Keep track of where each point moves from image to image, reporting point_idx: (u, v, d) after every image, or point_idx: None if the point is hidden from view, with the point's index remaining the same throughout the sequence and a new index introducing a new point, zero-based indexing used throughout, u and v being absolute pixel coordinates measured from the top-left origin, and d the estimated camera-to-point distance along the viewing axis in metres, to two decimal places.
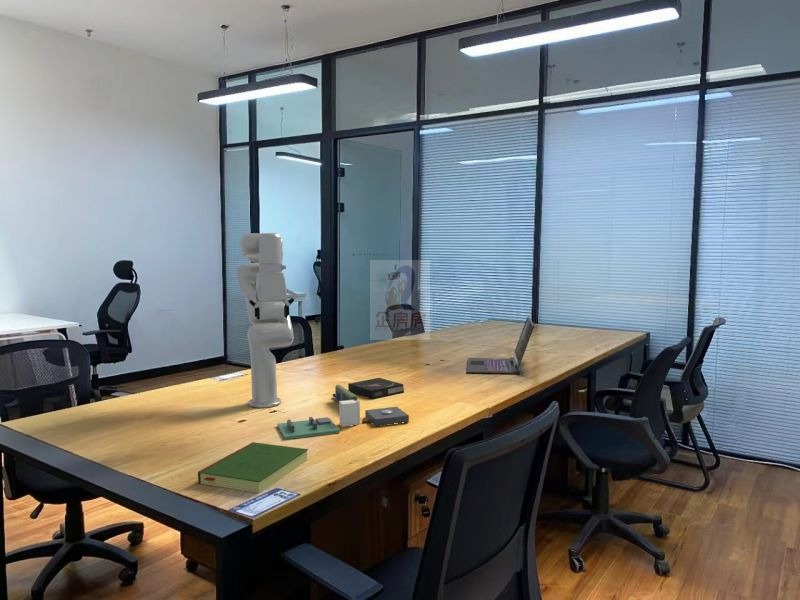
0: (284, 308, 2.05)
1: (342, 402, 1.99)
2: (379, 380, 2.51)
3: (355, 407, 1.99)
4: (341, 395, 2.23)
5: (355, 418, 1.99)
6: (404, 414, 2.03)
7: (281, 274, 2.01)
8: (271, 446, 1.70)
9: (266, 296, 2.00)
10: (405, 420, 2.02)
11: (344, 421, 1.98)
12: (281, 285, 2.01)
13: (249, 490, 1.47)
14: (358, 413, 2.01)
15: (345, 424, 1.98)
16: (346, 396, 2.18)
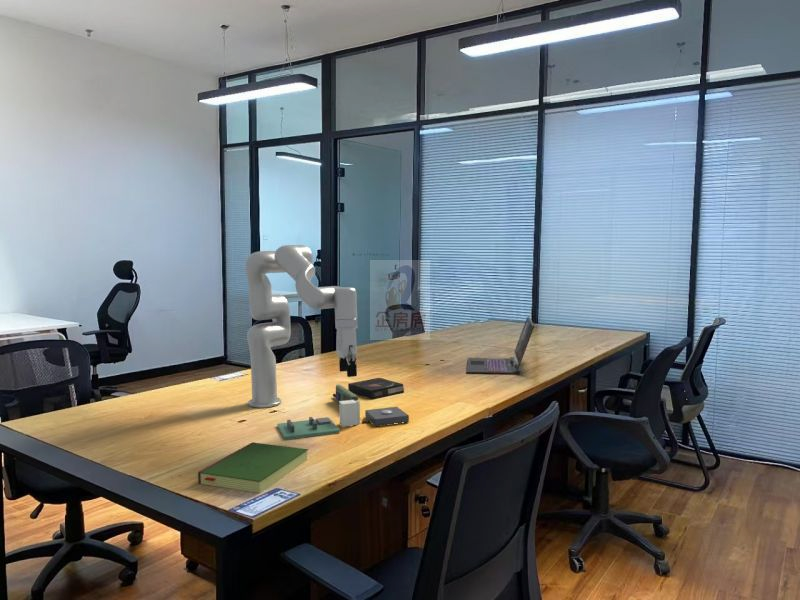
0: (342, 362, 2.02)
1: (342, 402, 1.99)
2: (379, 380, 2.51)
3: (355, 407, 1.99)
4: (342, 395, 2.23)
5: (355, 418, 1.99)
6: (404, 414, 2.03)
7: None
8: (271, 446, 1.70)
9: None
10: (405, 420, 2.02)
11: (344, 421, 1.98)
12: None
13: (250, 490, 1.47)
14: (358, 413, 2.01)
15: (345, 424, 1.98)
16: (347, 396, 2.18)
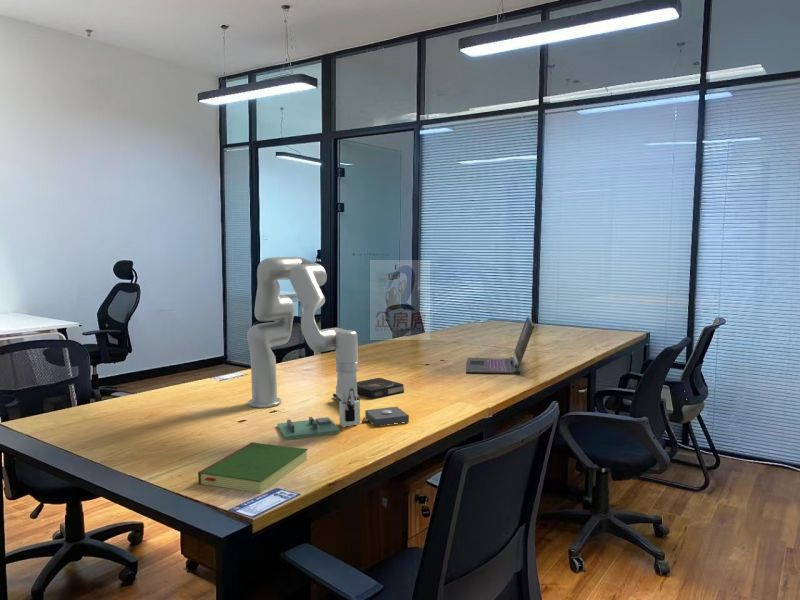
0: None
1: (342, 402, 1.99)
2: (379, 380, 2.51)
3: (355, 407, 1.99)
4: None
5: (355, 418, 1.99)
6: (404, 414, 2.03)
7: None
8: (270, 446, 1.70)
9: None
10: (405, 420, 2.02)
11: (344, 421, 1.98)
12: None
13: (250, 490, 1.47)
14: (358, 413, 2.01)
15: (345, 424, 1.98)
16: None
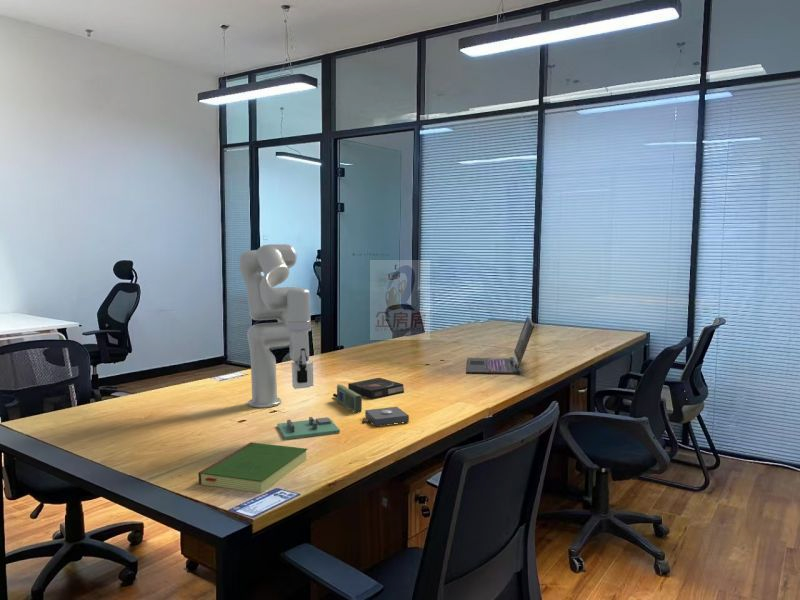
0: None
1: (294, 363, 1.92)
2: (379, 380, 2.51)
3: (308, 368, 1.92)
4: (344, 395, 2.23)
5: (308, 379, 1.92)
6: (404, 414, 2.03)
7: None
8: (270, 446, 1.70)
9: None
10: (405, 420, 2.02)
11: (296, 382, 1.91)
12: None
13: (251, 490, 1.47)
14: (311, 375, 1.94)
15: (297, 386, 1.91)
16: (350, 395, 2.19)
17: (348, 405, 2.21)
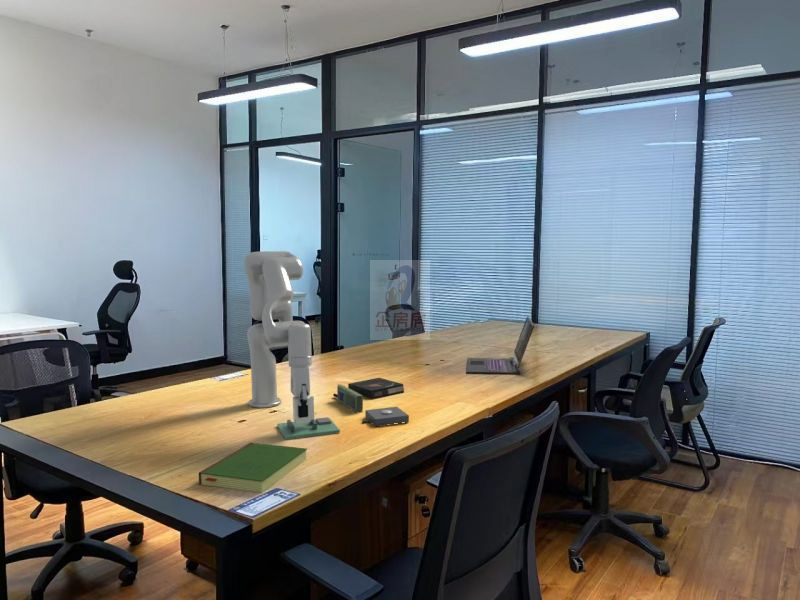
0: None
1: (295, 397, 1.93)
2: (379, 380, 2.51)
3: (308, 403, 1.93)
4: (345, 394, 2.24)
5: (308, 414, 1.93)
6: (404, 414, 2.03)
7: None
8: (269, 446, 1.70)
9: None
10: (405, 420, 2.02)
11: (297, 417, 1.92)
12: None
13: (252, 490, 1.47)
14: (312, 409, 1.95)
15: (298, 420, 1.92)
16: (351, 395, 2.19)
17: (349, 405, 2.21)
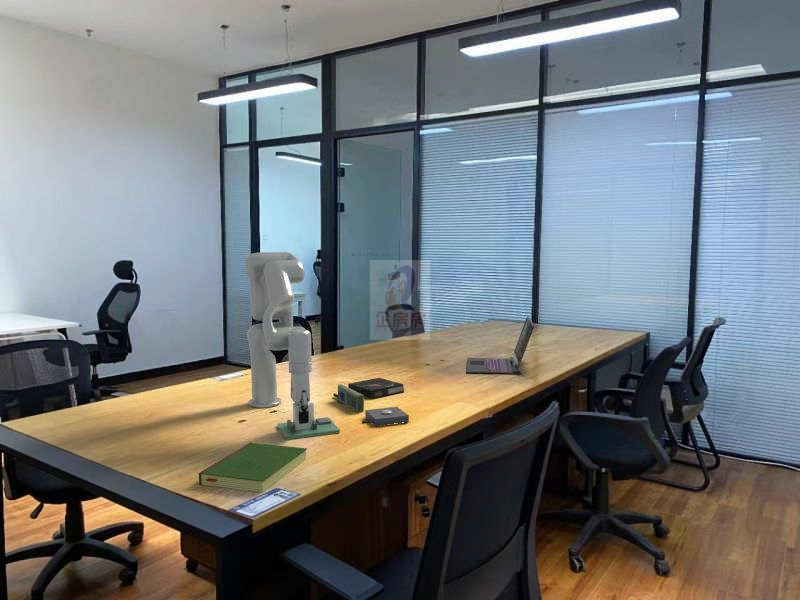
0: None
1: (295, 404, 1.94)
2: (379, 380, 2.51)
3: (308, 409, 1.93)
4: (345, 394, 2.24)
5: None
6: (404, 414, 2.03)
7: None
8: (269, 446, 1.70)
9: None
10: (405, 420, 2.02)
11: (297, 424, 1.92)
12: None
13: (252, 490, 1.47)
14: (312, 415, 1.95)
15: (298, 427, 1.92)
16: (352, 395, 2.19)
17: (350, 405, 2.21)
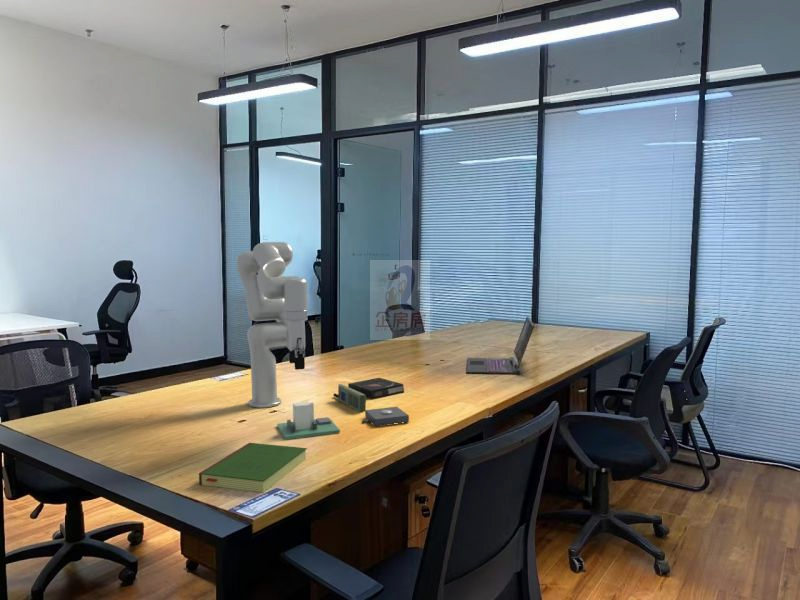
0: (292, 354, 2.00)
1: (295, 404, 1.94)
2: (379, 380, 2.51)
3: (308, 409, 1.93)
4: (347, 394, 2.24)
5: (308, 420, 1.94)
6: (404, 414, 2.03)
7: None
8: (269, 446, 1.70)
9: None
10: (405, 420, 2.02)
11: (297, 424, 1.92)
12: None
13: (253, 490, 1.47)
14: (312, 415, 1.95)
15: (298, 427, 1.92)
16: (353, 395, 2.20)
17: (351, 404, 2.21)
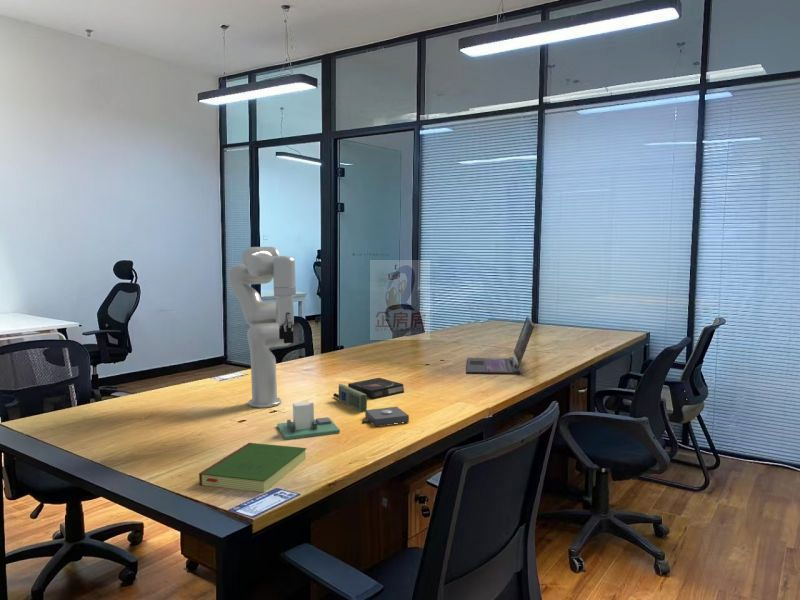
0: (282, 330, 2.08)
1: (295, 404, 1.94)
2: (379, 380, 2.51)
3: (308, 409, 1.93)
4: (347, 394, 2.24)
5: (308, 420, 1.94)
6: (404, 414, 2.03)
7: None
8: (268, 446, 1.70)
9: None
10: (405, 420, 2.02)
11: (297, 424, 1.92)
12: None
13: (253, 490, 1.47)
14: (312, 415, 1.95)
15: (298, 427, 1.92)
16: (354, 395, 2.20)
17: (352, 404, 2.21)
